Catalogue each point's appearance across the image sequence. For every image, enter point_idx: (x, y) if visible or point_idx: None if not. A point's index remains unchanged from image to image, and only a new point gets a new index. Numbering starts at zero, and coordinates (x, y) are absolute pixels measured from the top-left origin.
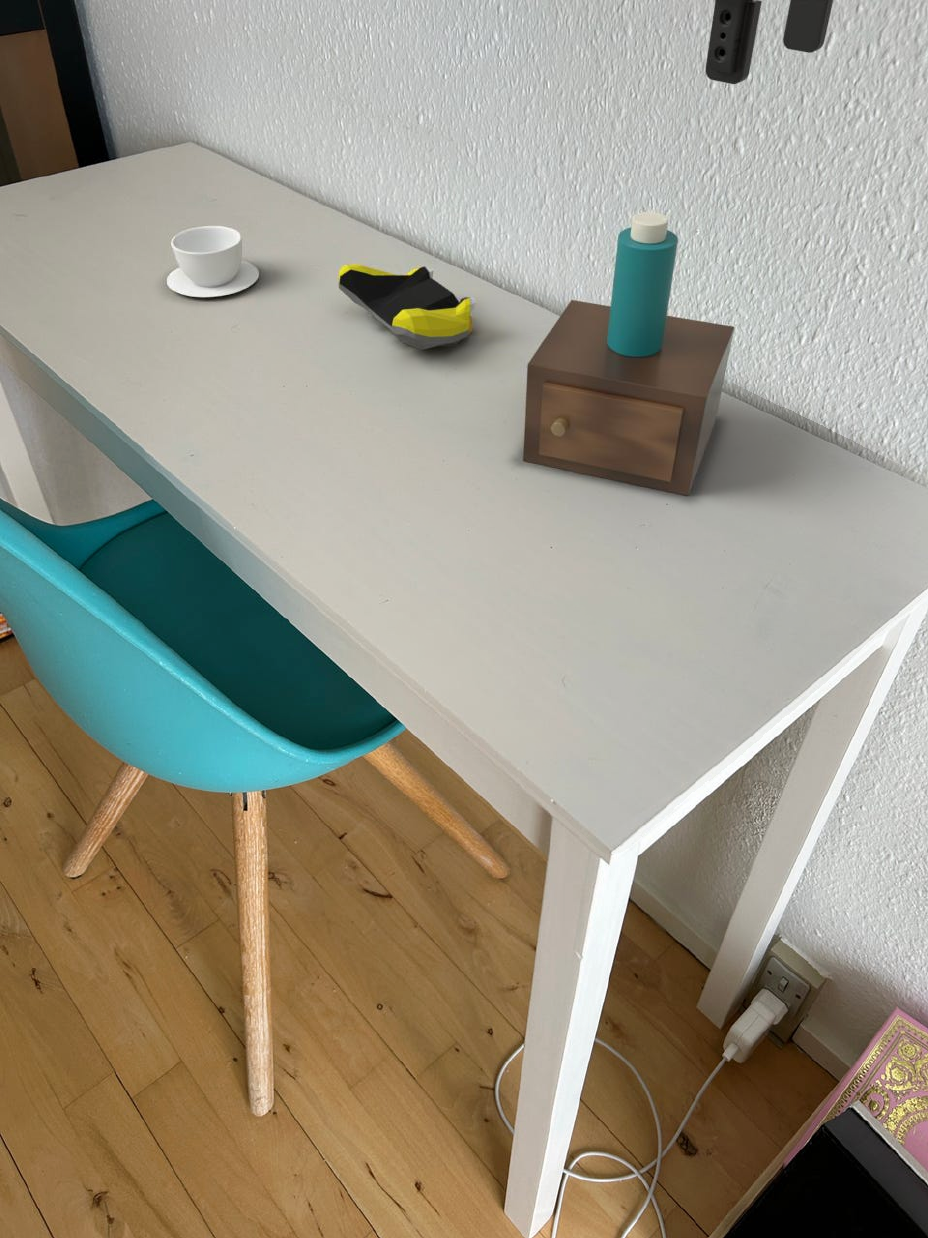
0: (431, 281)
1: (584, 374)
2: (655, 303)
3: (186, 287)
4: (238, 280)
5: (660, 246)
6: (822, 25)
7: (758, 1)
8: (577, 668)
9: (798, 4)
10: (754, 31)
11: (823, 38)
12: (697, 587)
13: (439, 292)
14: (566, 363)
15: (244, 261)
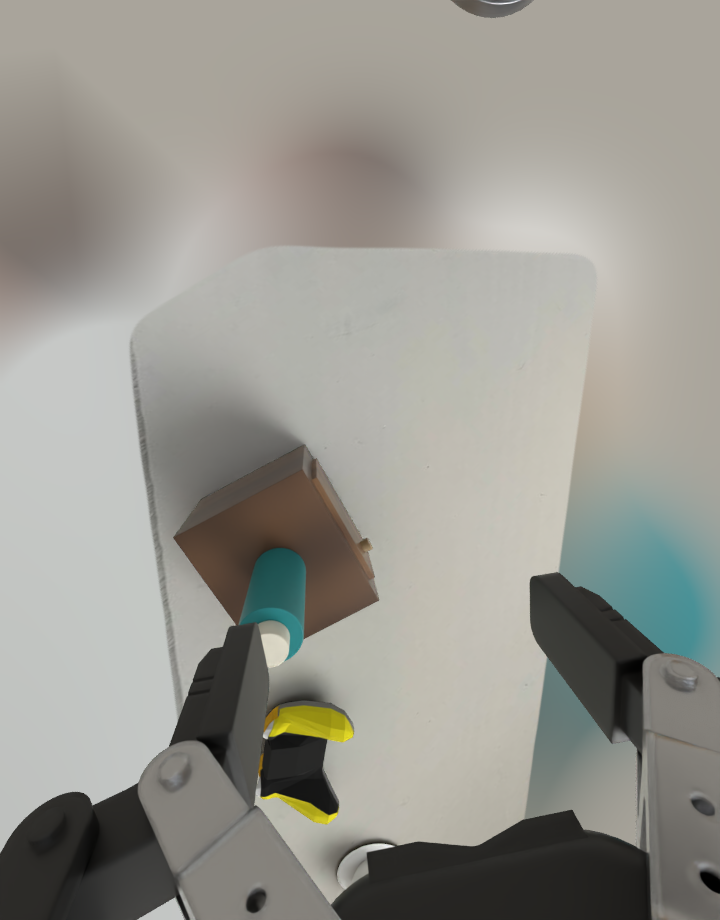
0: (271, 774)
1: (355, 560)
2: (284, 575)
3: None
4: (361, 858)
5: (278, 613)
6: (247, 650)
7: (626, 661)
8: (507, 369)
9: (258, 730)
10: (585, 620)
11: (234, 633)
12: (386, 368)
13: (278, 757)
14: (353, 581)
15: (339, 880)
